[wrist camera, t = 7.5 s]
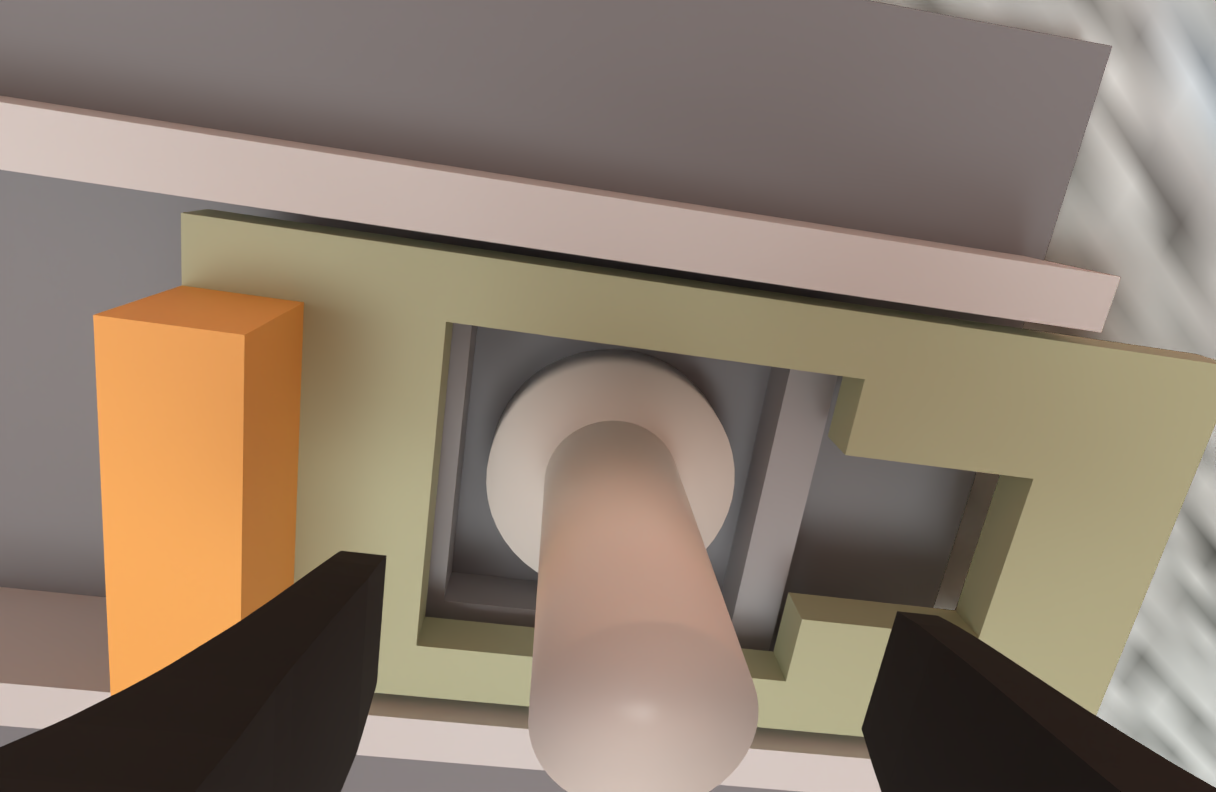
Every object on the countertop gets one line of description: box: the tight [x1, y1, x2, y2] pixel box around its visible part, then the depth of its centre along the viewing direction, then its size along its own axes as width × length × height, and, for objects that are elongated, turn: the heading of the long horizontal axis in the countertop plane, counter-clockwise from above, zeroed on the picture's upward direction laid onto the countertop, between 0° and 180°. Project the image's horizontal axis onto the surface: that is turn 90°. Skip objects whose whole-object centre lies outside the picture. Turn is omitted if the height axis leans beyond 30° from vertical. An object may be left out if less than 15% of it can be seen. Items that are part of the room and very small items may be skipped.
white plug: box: [486, 349, 759, 792], centre depth 13 cm, size 5×5×8 cm
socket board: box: [0, 0, 1121, 792], centre depth 16 cm, size 20×25×4 cm
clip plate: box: [93, 209, 1216, 737], centre depth 14 cm, size 9×19×4 cm, turn 81°
